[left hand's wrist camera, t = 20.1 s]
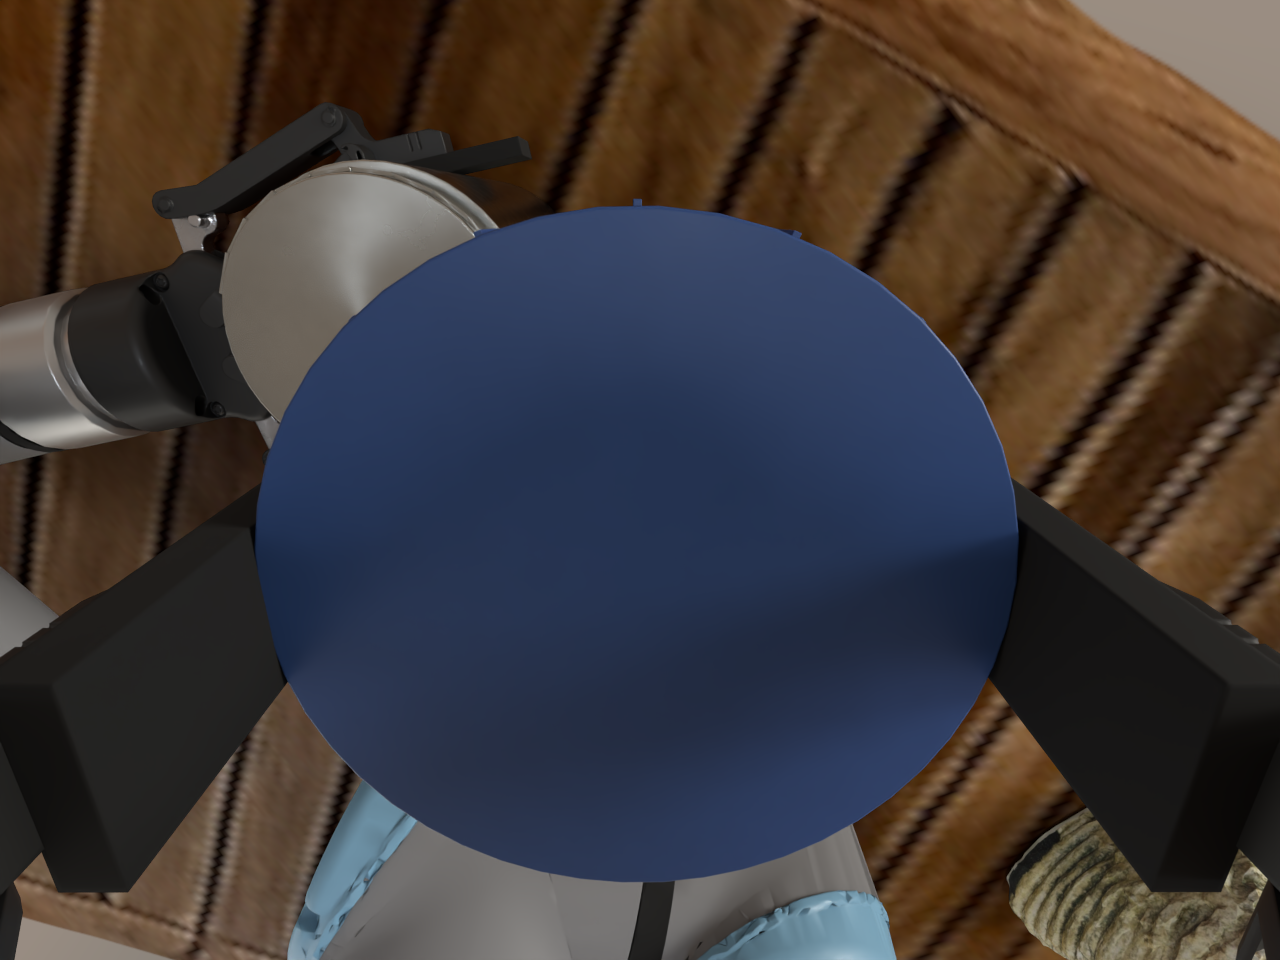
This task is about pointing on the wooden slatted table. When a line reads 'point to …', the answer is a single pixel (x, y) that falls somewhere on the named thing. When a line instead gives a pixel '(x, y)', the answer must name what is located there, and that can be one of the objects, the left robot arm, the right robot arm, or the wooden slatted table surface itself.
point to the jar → (342, 256)
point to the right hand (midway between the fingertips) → (554, 268)
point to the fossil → (1124, 902)
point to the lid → (636, 543)
